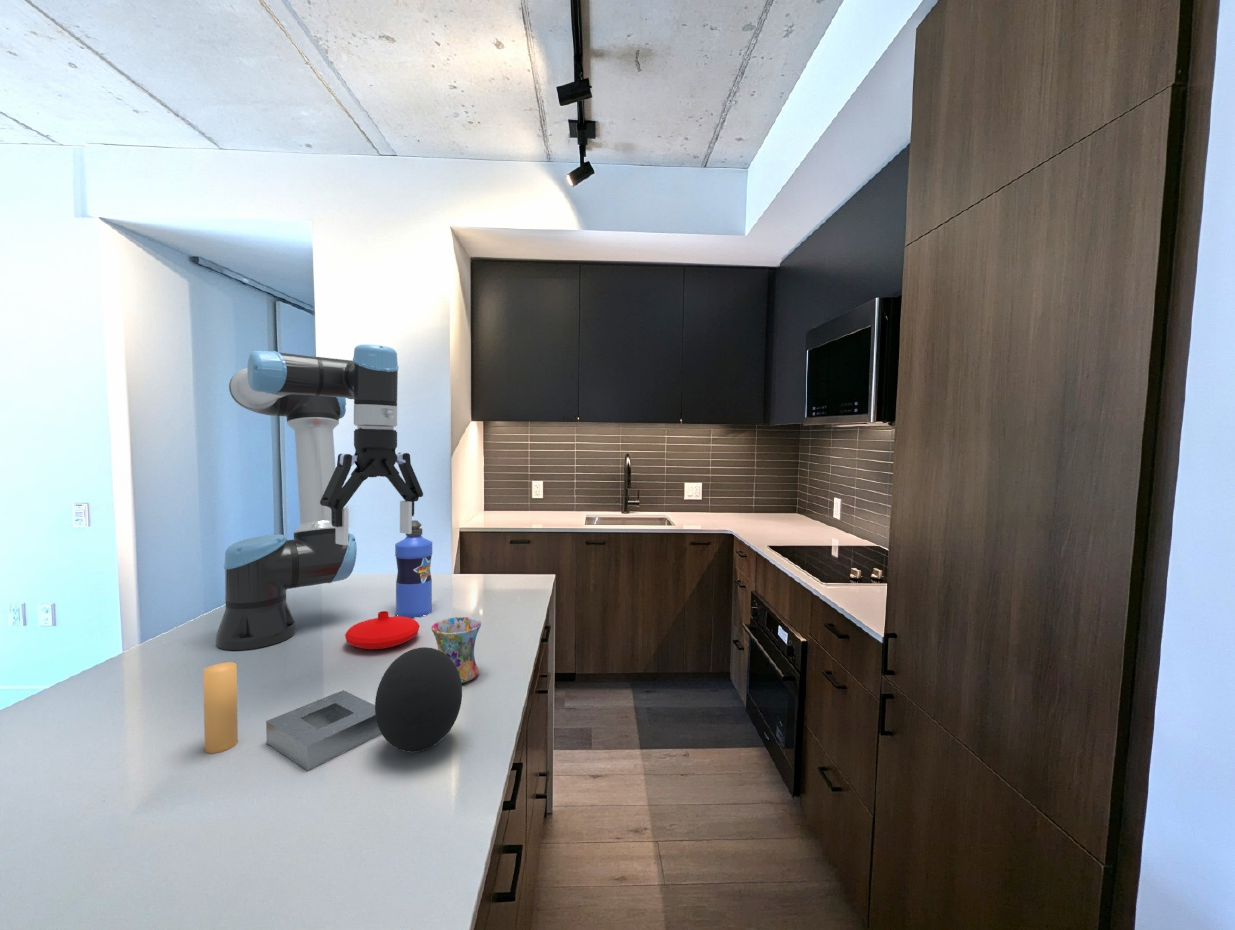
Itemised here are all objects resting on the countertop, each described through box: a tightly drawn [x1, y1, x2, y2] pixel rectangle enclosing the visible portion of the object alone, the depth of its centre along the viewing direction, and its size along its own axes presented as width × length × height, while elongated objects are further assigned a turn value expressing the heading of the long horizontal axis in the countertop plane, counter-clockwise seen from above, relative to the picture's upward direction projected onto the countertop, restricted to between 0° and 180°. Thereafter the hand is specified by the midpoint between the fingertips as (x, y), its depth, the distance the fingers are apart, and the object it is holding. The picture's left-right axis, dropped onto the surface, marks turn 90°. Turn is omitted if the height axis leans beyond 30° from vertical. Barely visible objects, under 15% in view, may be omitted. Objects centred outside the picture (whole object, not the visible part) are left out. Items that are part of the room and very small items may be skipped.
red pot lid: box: [344, 610, 421, 650], centre depth 120 cm, size 16×16×7 cm
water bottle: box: [394, 519, 433, 619], centre depth 140 cm, size 9×9×25 cm
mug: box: [431, 616, 482, 684], centre depth 104 cm, size 12×9×11 cm
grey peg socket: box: [265, 689, 382, 771], centre depth 81 cm, size 12×12×4 cm
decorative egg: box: [374, 647, 463, 753], centre depth 79 cm, size 12×12×15 cm
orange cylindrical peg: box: [202, 661, 239, 754], centre depth 79 cm, size 4×4×12 cm
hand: (375, 538), depth 101 cm, fingers open, 13 cm apart
